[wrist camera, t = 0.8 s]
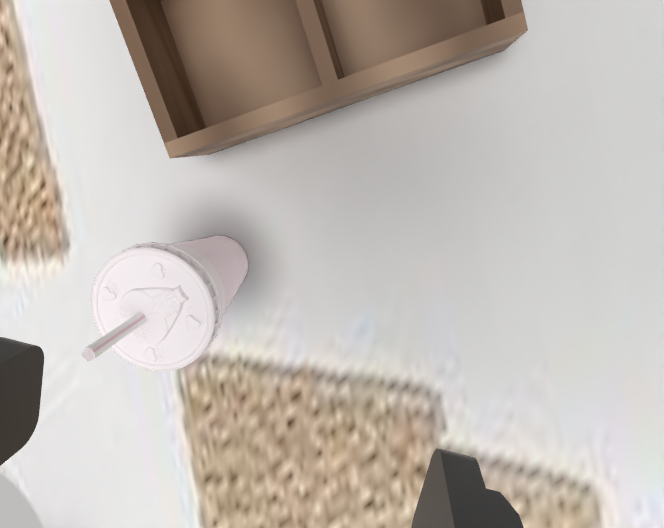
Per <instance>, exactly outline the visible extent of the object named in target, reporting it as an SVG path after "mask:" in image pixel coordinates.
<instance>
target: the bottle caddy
mask: <svg viewBox="0 0 664 528" xmlns="http://www.w3.org/2000/svg"><path fill="white" fill-rule="evenodd" d="M110 3H111V5H112V8H113V11H114V13H115V16H116V19H117V21H118V24H119V26H120V29H121V32H122V34H123V37H124V39H125V42H126V45H127V47H128V50H129V53H130V55H131V58H132V60H133V63H134V66H135V68H136V71H137V73H138V76H139V79H140V81H141V84H142V87H143V89H144V92H145V94H146V97H147V100H148V102H149V105H150V107H151V110H152V113H153V115H154V118H155V121H156V123H157V126H158V128H159V131H160V134H161V136H162V139H163V141H164V144H165V147H166V149H167V152H168V155H169V157H170V158H178V157H189V156H199V155H209V154H212V153H215V152H218V151H220V150H223V149H226V148H229V147H232V146H234V145H237V144H240V143H243V142H246V141H249V140H251V139H254V138H257V137H260V136H263V135H266V134H268V133H271V132H274V131H277V130H280V129H283V128H285V127H288V126H291V125H294V124H297V123H299V122H302V121H305V120H308V119H311V118H314V117H316V116H319V115H322V114H325V113H328V112H331V111H333V110H336V109H339V108H342V107H345V106H347V105H350V104H353V103H356V102H359V101H362V100H364V99H367V98H370V97H373V96H376V95H379V94H381V93H384V92H387V91H390V90H393V89H396V88H398V87H401V86H404V85H407V84H410V83H412V82H415V81H418V80H421V79H424V78H427V77H429V76H432V75H435V74H438V73H441V72H444V71H446V70H449V69H452V68H455V67H458V66H461V65H463V64H466V63H469V62H472V61H475V60H477V59H480V58H483V57H486V56H489V55H492V54H494V53H497V52H500V51H503V50H505V49H506V48H507V47H509V46H510V45H511V44H512V43H513V42H514V41H516V40H517V39H518V38H519V37H520V36H521V35H523V34H524V33H525V32H526V31H527V30H528V29H527V24H526V20H525V16H524V11H523V7H522V3H521V0H110Z"/></svg>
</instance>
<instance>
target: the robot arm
mask: <svg viewBox="0 0 664 528" xmlns="http://www.w3.org/2000/svg"><path fill="white" fill-rule="evenodd" d="M43 365H44V354H43V351H42V349H41V348H40V347H38V346H35V345H31V344H27V343H23V342H19V341H15V340H11V339H8V338H3V337H0V465H2V464H3V463H4V462H5V461H6V460H8V459H9V458H10V457H11V456H13V455H14V454H15V453H16V452H18V451H19V450H20V449H21V448H22V447H23V446H24V445H25V444H26V443H27V441H28V440H29V439H30V437H31V436H32V434H33V432H34V430H35V427H36V425H37V422H38V417H39V409H40V398H41V387H42V376H43ZM412 528H523V525H522V522H521V520H520V517H519V514H518V513H517V512H516V511H515V510H514V508H513V507H512V506H511V505H510V504H509V502H508V501H507V500H506V499H505V497H504V496H503V495H502V494H501V493H500V492H497V491H493V490H489V489H486V488H485V484H484V481H483V478H482V475H481V471H480V468H479V465H478V462H477V460H476V458H474V457H470V456H466V455H462V454H458V453H454V452H450V451H446V450H442V449H436V450H435V451H434V453H433V455H432V458H431V461H430V464H429V468H428V471H427V474H426V478H425V481H424V484H423V488H422V491H421V494H420V498H419V501H418V504H417V508H416V511H415V514H414V518H413V523H412Z"/></svg>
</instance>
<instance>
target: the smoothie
mask: <svg viewBox="0 0 664 528" xmlns="http://www.w3.org/2000/svg"><path fill="white" fill-rule="evenodd" d="M247 272H248V259H247V255H246V253H245V251H244V249H243V248H242V247H241V245H240V244H239V243H237V242H236V241H235V240H233V239H231V238H229V237H226V236H213V237H207V238H202V239H197V240H192V241H187V242H181V243H176V244H171V245H168V244H161V243H154V242H152V243H144V244H137V245H135V246H132V247H130V248H128V249H126V250H124V251H122V252H121V253H119V254H117V255H115V256H114V257H112V258H111V259H110V260H109V261H107V262H106V263H105V264H104V266H103V267H102V268H101V270H100V271H99V272H98V274H97V276H96V278H95V281H94V284H93V288H92V293H91V308H92V314H93V318H94V321H95V324H96V327H97V329H98V331H99V333H100V335H101V336H102V337H101V338H100V339H98V340H97V341H95V342H94V343H92V344H91V345H89V346H88V347H86V348H85V349H83V350H82V357H83V358H84V359H85V360H87V361H92V360H93V359H95V358H96V357H97V356H99V355H100V354H102V353H103V352H104V351H106V350H107V349H109V348H111V349H112V350H113V351H114V352H115V353H116V354H117V355H119V356H120V357H121V358H123V359H124V360H126V361H127V362H129V363H131V364H133V365H135V366H137V367H140V368H143V369H147V370H152V371H170V370H175V369H179V368H182V367H184V366H186V365H188V364H190V363H191V362H193V361H194V360H196V359H197V358H198V357H199V356H200V355H201V354H203V353H204V352H205V351H206V350H208V348H209V347H210V345H211V344H212V343H213V341H214V340H215V338H216V337H217V334H218V331H219V328H220V325H221V317H222V315H223V313H224V312H225V310H226V308H227V307H228V305H229V303H230V302H231V300H232V298H233V297H234V295H235V293H236V292H237V290H238V289H239V287H240V285H241V284H242V282H243V280H244V279H245V277H246V275H247Z"/></svg>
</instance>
